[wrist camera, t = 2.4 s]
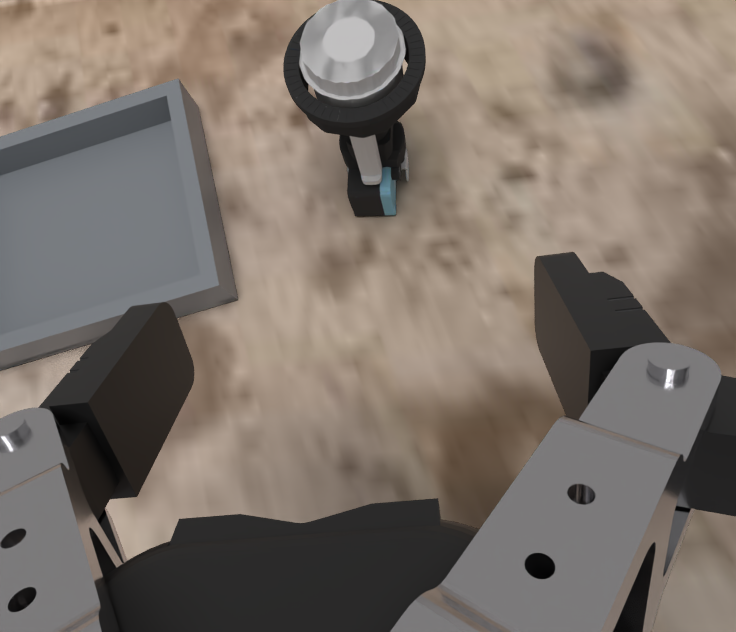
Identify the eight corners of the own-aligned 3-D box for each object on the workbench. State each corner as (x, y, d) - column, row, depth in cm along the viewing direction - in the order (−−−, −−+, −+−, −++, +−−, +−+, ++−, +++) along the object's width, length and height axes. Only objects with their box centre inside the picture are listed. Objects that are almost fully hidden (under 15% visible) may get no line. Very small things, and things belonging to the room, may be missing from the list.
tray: (198, 106, 32) (178, 78, 30) (238, 299, 29) (219, 285, 26) (-25, 179, 33) (-62, 156, 30) (-11, 374, 30) (-52, 366, 27)
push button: (334, 112, 31) (284, -46, 21) (432, 107, 30) (425, -59, 20) (328, 224, 29) (269, 109, 19) (430, 222, 28) (423, 101, 19)
